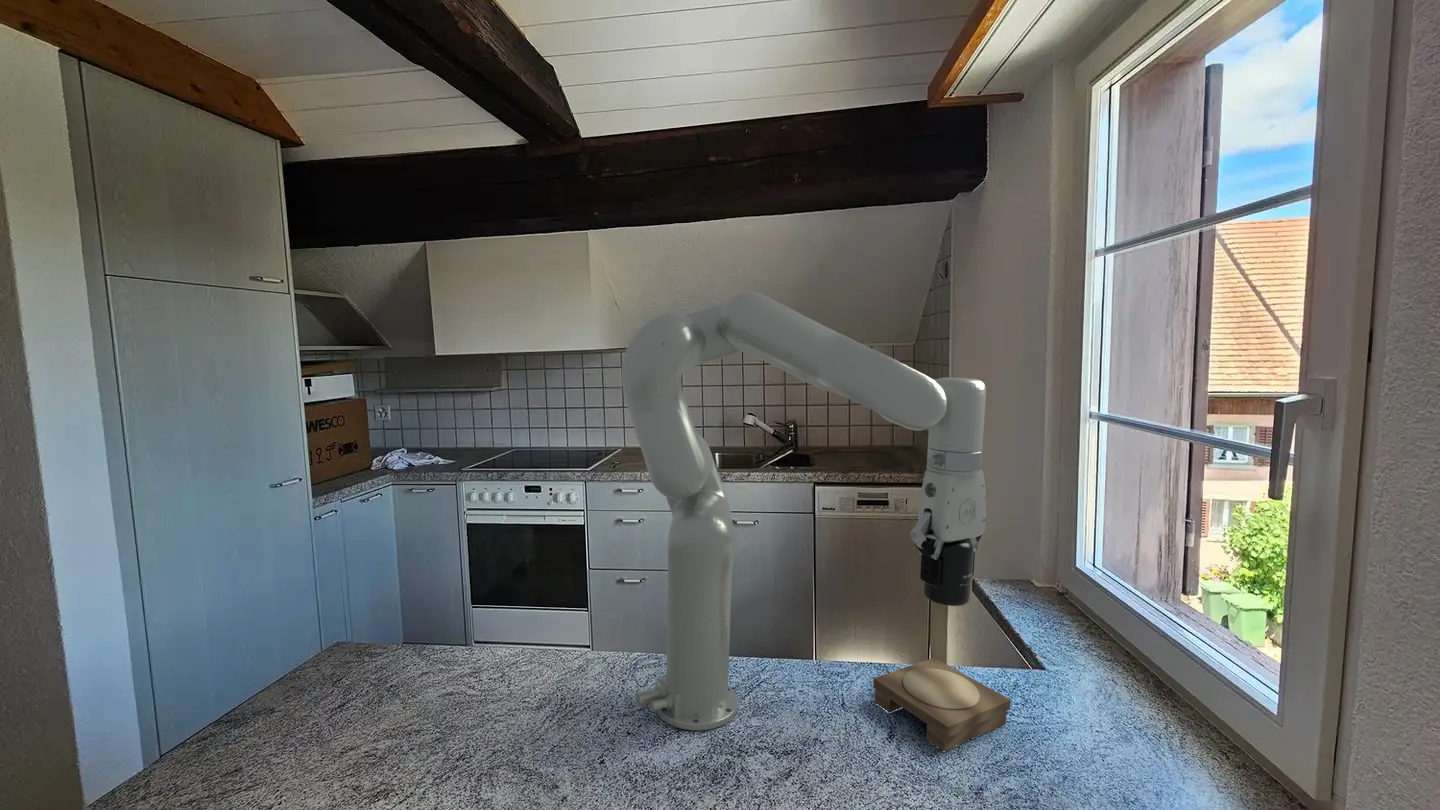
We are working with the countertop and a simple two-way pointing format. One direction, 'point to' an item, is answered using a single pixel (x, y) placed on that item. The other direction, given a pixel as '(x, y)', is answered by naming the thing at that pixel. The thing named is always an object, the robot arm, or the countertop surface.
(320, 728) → the countertop surface
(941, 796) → the countertop surface
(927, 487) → the robot arm
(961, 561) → the supplement bottle
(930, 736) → the walnut stand
